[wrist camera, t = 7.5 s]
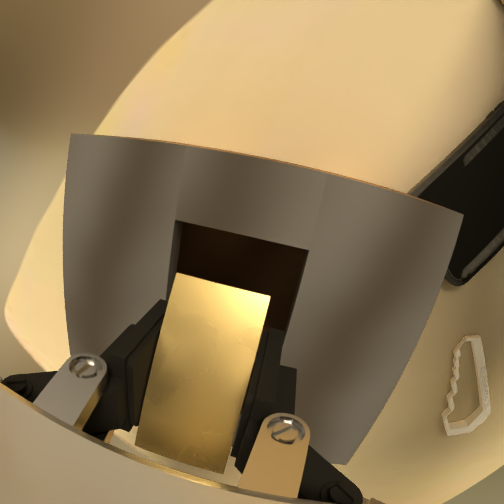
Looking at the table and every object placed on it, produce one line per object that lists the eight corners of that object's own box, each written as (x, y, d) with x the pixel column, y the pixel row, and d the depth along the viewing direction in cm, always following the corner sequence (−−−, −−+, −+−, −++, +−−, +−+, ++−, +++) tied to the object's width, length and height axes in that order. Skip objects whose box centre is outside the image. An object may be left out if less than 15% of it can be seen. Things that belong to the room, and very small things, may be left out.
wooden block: (267, 305, 13) (270, 296, 10) (232, 440, 12) (223, 474, 8) (197, 288, 13) (176, 272, 10) (164, 420, 12) (134, 445, 8)
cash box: (397, 190, 18) (463, 214, 10) (337, 373, 23) (346, 464, 14) (156, 139, 20) (71, 133, 11) (138, 322, 24) (76, 389, 15)
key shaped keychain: (421, 350, 22) (428, 361, 21) (471, 322, 21) (480, 331, 19) (446, 438, 24) (450, 449, 22) (486, 416, 23) (492, 426, 21)
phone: (567, 168, 14) (455, 292, 19) (559, 167, 16) (449, 286, 20) (523, 81, 14) (396, 204, 18) (515, 84, 15) (391, 202, 19)
